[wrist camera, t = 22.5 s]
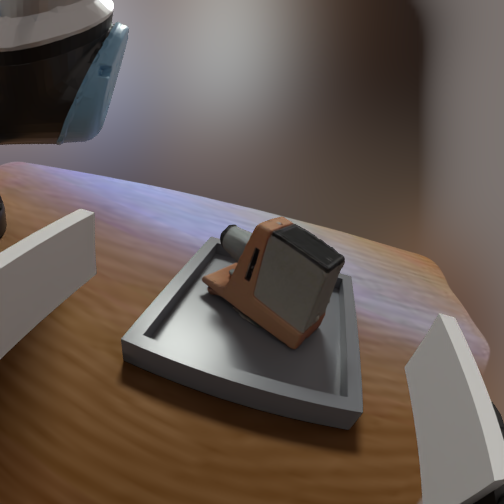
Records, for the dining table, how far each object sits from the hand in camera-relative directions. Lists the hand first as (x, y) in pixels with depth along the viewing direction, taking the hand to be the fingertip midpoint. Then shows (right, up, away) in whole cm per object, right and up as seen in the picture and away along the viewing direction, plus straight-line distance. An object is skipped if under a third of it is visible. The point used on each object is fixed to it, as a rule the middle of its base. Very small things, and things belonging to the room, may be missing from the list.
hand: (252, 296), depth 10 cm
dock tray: (+1, -4, +14) cm, 15 cm away
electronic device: (0, -3, +15) cm, 15 cm away
